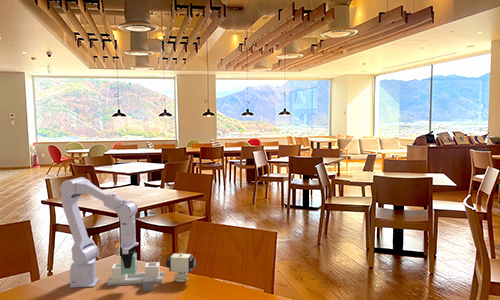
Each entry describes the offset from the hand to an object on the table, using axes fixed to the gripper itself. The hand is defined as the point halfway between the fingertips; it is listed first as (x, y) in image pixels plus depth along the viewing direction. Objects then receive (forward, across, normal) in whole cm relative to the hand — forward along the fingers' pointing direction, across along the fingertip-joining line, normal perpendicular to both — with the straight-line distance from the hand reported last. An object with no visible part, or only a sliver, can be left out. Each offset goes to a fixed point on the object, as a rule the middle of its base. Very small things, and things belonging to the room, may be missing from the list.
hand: (128, 265), depth 160 cm
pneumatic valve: (+10, +6, -20) cm, 24 cm away
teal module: (+3, 0, 0) cm, 3 cm away
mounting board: (+10, +9, -2) cm, 13 cm away
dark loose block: (+10, -1, -8) cm, 12 cm away
